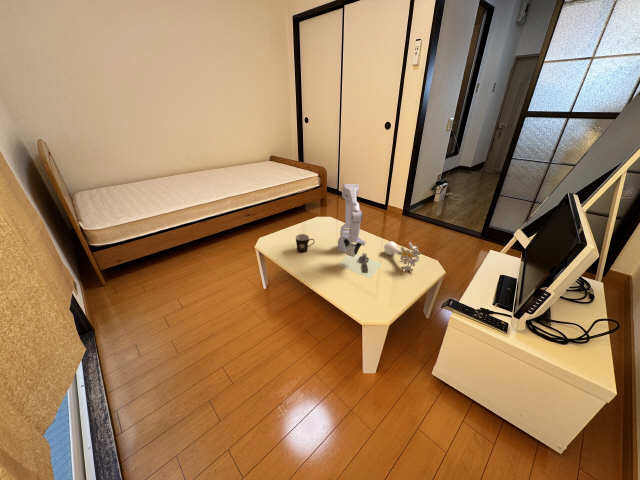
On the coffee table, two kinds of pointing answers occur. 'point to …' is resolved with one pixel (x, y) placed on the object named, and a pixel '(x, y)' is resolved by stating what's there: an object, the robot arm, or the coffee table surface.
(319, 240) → the coffee table surface
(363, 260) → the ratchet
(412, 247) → the flower vase
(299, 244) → the coffee mug
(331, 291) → the coffee table surface
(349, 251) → the socket
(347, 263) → the mat
